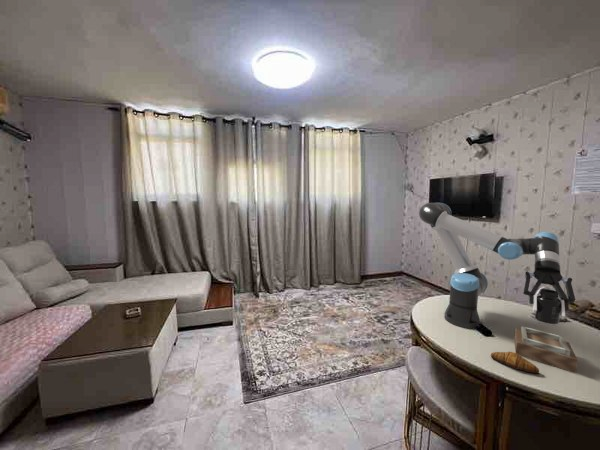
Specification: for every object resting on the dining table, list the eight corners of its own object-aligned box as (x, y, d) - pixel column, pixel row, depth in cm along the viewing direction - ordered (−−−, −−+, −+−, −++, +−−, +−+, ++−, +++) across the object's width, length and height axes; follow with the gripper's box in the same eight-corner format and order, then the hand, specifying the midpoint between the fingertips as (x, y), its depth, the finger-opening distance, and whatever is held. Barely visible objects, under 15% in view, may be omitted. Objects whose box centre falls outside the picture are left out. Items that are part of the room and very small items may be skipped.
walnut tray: (515, 354, 96) (517, 337, 95) (514, 338, 106) (515, 323, 106) (575, 372, 86) (578, 354, 85) (567, 353, 96) (569, 337, 96)
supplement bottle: (555, 318, 96) (558, 289, 94) (561, 326, 90) (565, 295, 89) (531, 314, 99) (535, 286, 98) (536, 321, 94) (540, 291, 92)
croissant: (538, 369, 87) (539, 356, 87) (539, 379, 82) (541, 366, 82) (491, 353, 96) (492, 341, 96) (489, 362, 91) (490, 349, 91)
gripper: (579, 273, 98) (585, 327, 87) (515, 265, 111) (513, 311, 100) (584, 263, 94) (591, 318, 83) (516, 255, 106) (514, 302, 95)
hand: (548, 314), depth 91 cm, fingers closed on supplement bottle, 7 cm apart
